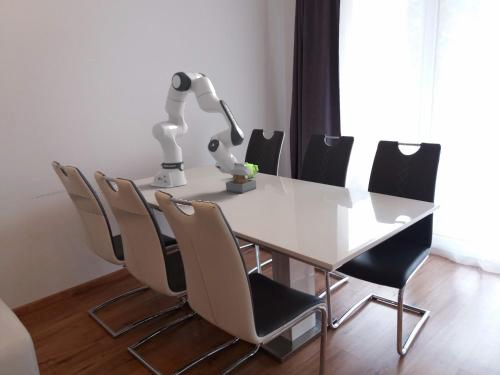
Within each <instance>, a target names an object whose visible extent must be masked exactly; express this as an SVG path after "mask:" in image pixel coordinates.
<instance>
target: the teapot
mask: <svg viewBox="0 0 500 375" xmlns="http://www.w3.org/2000/svg"><path fill="white" fill-rule="evenodd" d="M244 164H246V165H247V166H248V167H249V168H250V169H251V170H252V172H251V174H250V176H248V179H251V180H252V178H253V177H254V176H255V175H256V173H258V172H259V168H258V165H256V164H255V165H254V164H253V163H248V162H244Z"/></svg>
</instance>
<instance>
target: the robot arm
mask: <svg viewBox="0 0 500 375" xmlns="http://www.w3.org/2000/svg"><path fill="white" fill-rule="evenodd" d="M189 93H194V96H195V99H196V102H197V105H198V106H199V109H201V111H202V112H205V113H209V114H215V113H216V114H217V113H218V114H221V115H222V116H223V118H224V120H225V121H226V123H227V125H228V129H226V130H223V131H219V132H218V133H215V134H214V135H212V136H211V137H210V140H209V142H208V145H207V150H208V152H209V154H210V156H211V157H212V158H213V159H214V160H215V161H216V163H215V165H214V166H215V168H216V169H217V170H218V171H219V172H221V173H222V174H228V175H231V176H233V174H235V175H243V176H244V178H245V179H247V178H248V176H250V174H251V172H252V170H251V169H250V168H249V167H248V166H247V165H246V164H245V163H244V162H243V163H241V162H238V159H237V158H236V157H235V155H233V153H232V152H230V150H229V149H231V148H233V147H237V146H241V145H242V144H243V142H244V140H245V134H244V132H243V130H242V129H241V127H240V126H239V124H238V122H237V121H236V118H235V117H234V114H233V113H232V111H231V109H230V107H229V106H228V104H227V103H226V102H225V101H224V100H223V99H220V98H219V97H218V95H217V92H216V89H215V87H214V85H213V83H212V82H211V80H210V78H209V77H207V76H206V75H205V74H203V73H201V72H194V71H178V72H175V73H174V74H173V75H172V78H171V83H170V86H169V88H168V91H167V96H166V101H165V104H164V105H165V106H164V110H165V112H166V114H168V118H167V119H168V120H163V121H159V122H157V123H156V124H154V125H153V126H152V129H151V133H152V134H151V135H152V136H153V137H154V139H156V140H157V141H158V143H159V144H160V146H161V150H162V154H163V162H162V163H160V167H161V168H160V170H159V171H158V172H156V173H155V174H154V176H153V182H151V183H150V185H149V186H150V187H157V188H167V189H168V188H173V187H174V188H175V187H181V186H184V185H185V186H186V184H188V181H187V178H186V175H185V167H184V166H185V165H184V160H183V150H182V148H181V146H179V145H178V144H177V142H176V139H178V138H182V137H184V136H185V135H186V134H187V133H188V130H189V128H188V124H187V123H186V121H185V107H186V103H187V99H188V98H187V97H188V94H189Z"/></svg>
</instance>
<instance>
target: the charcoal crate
mask: <svg viewBox="0 0 500 375" xmlns="http://www.w3.org/2000/svg"><path fill="white" fill-rule="evenodd" d="M254 190H257V180H256V179H252V178H251V179H248V182H247V183H244V184H238V183H233V179H231V180H229V181H226V182H225V191H226V192H231V193H237V194H245V193H249V192H251V191H254Z"/></svg>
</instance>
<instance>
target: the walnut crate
mask: <svg viewBox="0 0 500 375" xmlns="http://www.w3.org/2000/svg"><path fill="white" fill-rule="evenodd" d="M232 180H233V183H238V184H244V183H247V182H248V178H247V179H245V178H244V176H243V175H235V174H233V175H232Z"/></svg>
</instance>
